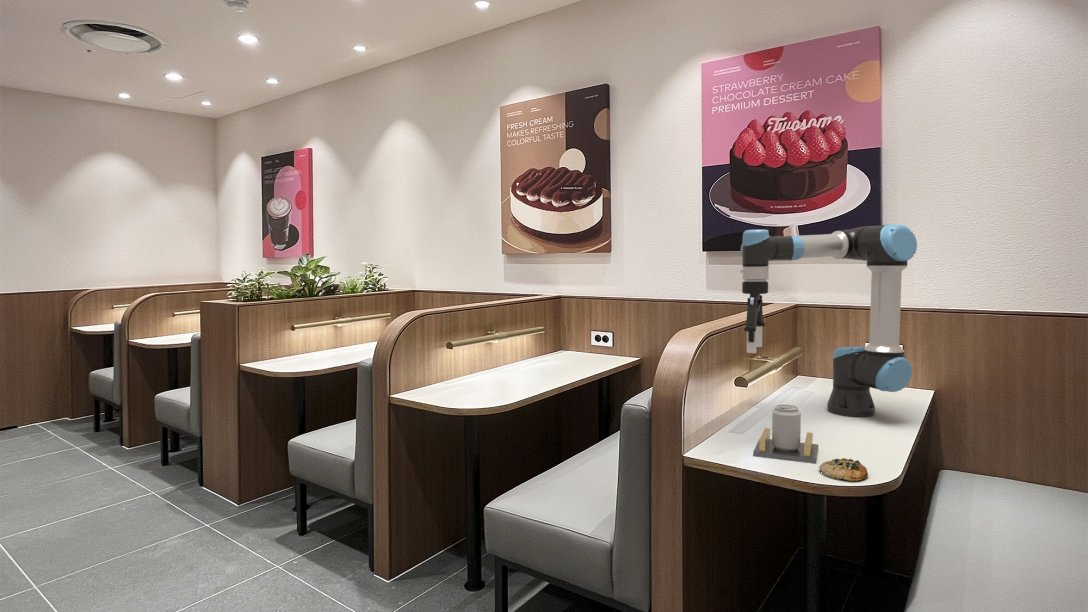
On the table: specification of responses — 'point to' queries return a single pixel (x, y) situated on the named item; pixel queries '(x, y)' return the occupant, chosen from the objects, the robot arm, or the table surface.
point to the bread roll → (844, 469)
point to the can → (786, 427)
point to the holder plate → (803, 453)
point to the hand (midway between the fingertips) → (754, 349)
